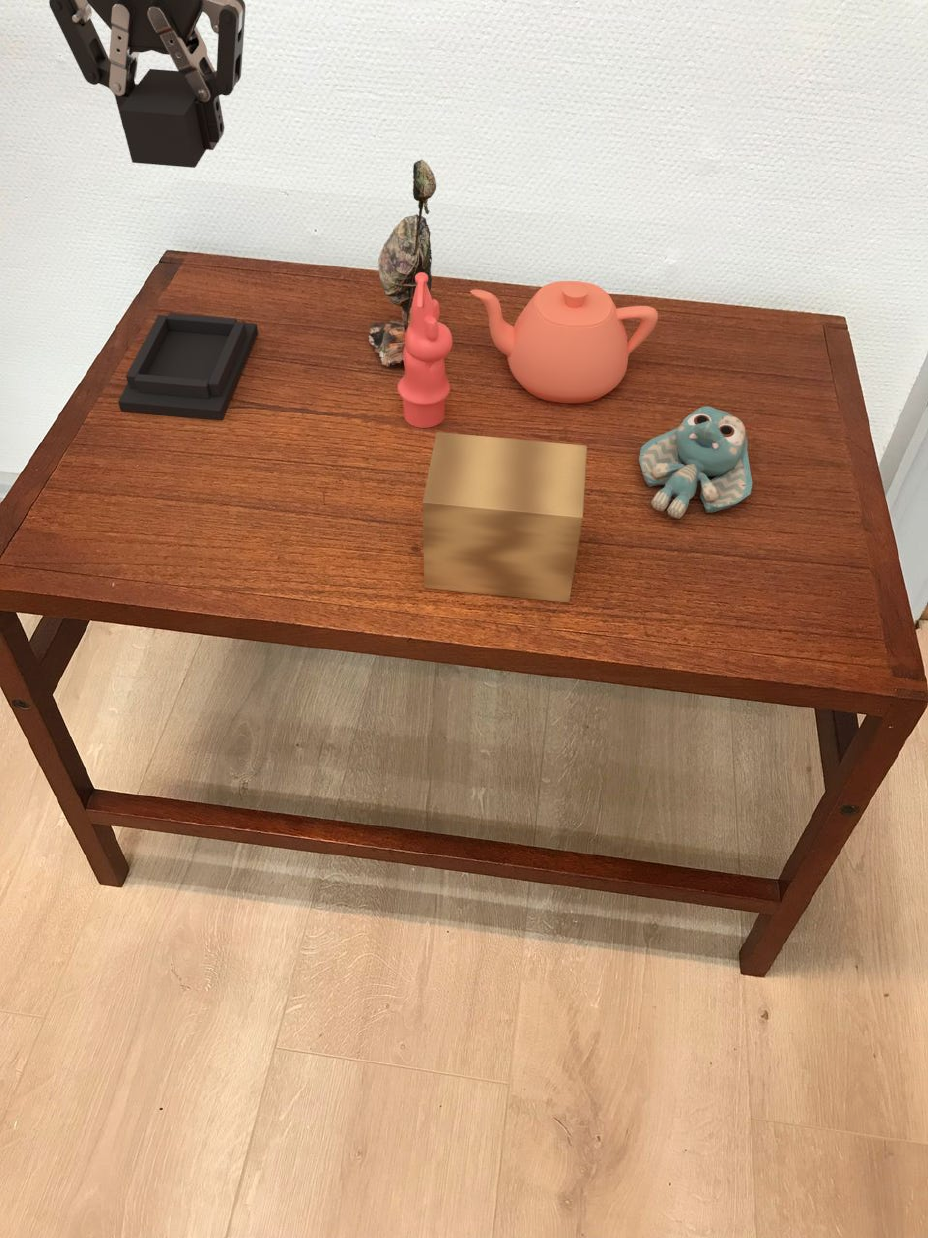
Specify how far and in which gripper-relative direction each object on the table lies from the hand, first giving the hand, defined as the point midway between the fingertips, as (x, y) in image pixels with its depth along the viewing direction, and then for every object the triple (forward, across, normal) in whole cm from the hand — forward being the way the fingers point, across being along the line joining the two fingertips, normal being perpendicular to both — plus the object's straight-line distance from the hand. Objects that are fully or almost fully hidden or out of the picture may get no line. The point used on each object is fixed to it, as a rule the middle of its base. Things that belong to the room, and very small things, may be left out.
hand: (177, 141), depth 77 cm
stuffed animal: (+25, +45, -6) cm, 52 cm away
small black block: (0, 0, 0) cm, 0 cm away
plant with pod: (+25, +16, +11) cm, 31 cm away
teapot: (+25, +32, +8) cm, 41 cm away
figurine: (+25, +19, -1) cm, 31 cm away
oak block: (+24, +29, -18) cm, 42 cm away
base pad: (+25, -5, +3) cm, 25 cm away
